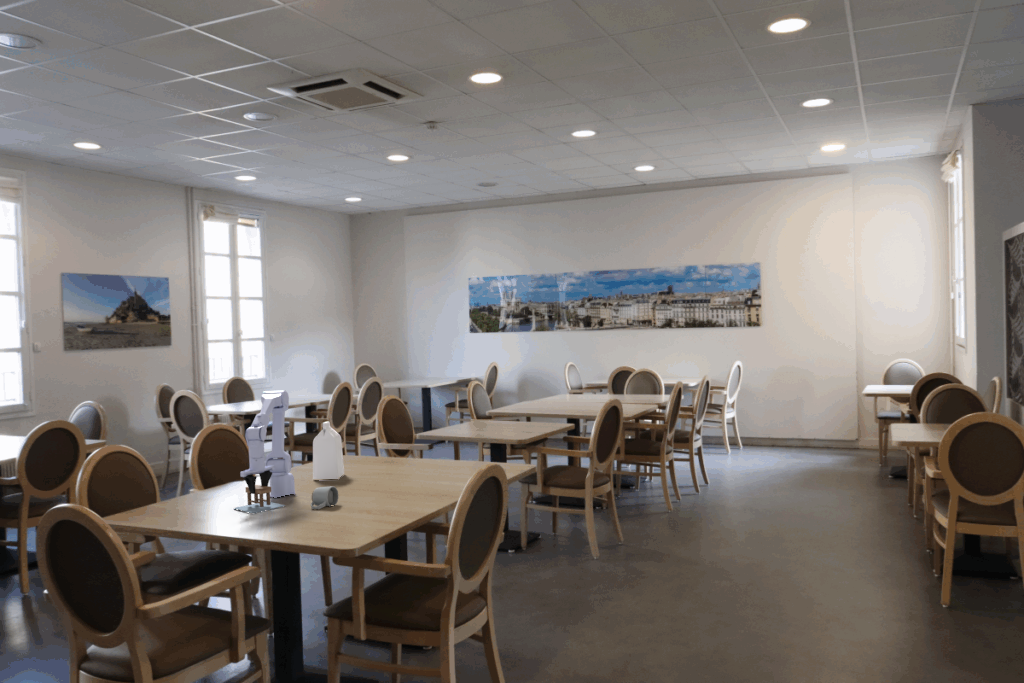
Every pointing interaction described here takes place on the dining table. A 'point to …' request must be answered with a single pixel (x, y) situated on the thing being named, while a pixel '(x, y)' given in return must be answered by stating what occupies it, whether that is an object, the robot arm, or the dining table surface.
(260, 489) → the stool
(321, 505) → the ceramic mug
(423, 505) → the dining table surface
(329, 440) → the milk
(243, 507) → the mat
